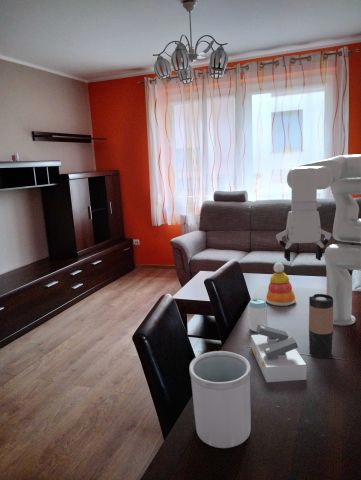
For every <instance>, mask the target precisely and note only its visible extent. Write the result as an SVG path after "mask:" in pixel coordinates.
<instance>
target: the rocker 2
mask: <svg viewBox="0 0 361 480" xmlns="http://www.w3.org/2000/svg"><path fill="white" fill-rule="evenodd" d="M298 348H299V346H298V344H297V341H296V340H295V338H294V337H293V336H292V337H288V339H286V340H283V341H281V342H278V343H276V344H273V345H271V346H268V347H265V348H263V350H264V353H265V355H266V357H267V359H270V358H273V357H276V356H278V355H281V354H283V353H286V352H288V351H291V350H294V349H296V350H297V349H298Z"/></svg>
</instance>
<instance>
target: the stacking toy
mask: <svg viewBox="0 0 361 480" xmlns="http://www.w3.org/2000/svg"><path fill="white" fill-rule="evenodd" d="M273 271H274V272H273V273H272V275H271V276H270V278H269V279H270V280H269V281H270V282H269V284H268V287H267V288H268V289H267V290H268V291H267V292H266V296H265V297H264V300H265V302H267V303H268V304H270V305H274V306H281V307H282V306H283V307H284V306H285V307H286V306H290V305H293V304H295V303H296V301H297V297H296V295H295V292H294V291H293V286H292V284H291V282H290V278H289V276H288V275H287V274H286V273H285V272H284V271H285V266H284V264H283V263H282V262H280V261H277V262H275V264H274V265H273Z"/></svg>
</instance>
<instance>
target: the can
mask: <svg viewBox="0 0 361 480" xmlns="http://www.w3.org/2000/svg"><path fill="white" fill-rule="evenodd" d="M248 317H249V318H248V319H249V323H248V324H249V325H248V326H249V327H248V328H249V330H251V331H252V332H253V333H254V332H255V333H258V332H257V327H258V325H262V326H266V327H268V304H267V303H266V300H265V299H263V298H252V299H250V302H249V304H248Z"/></svg>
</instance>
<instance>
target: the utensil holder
mask: <svg viewBox="0 0 361 480" xmlns="http://www.w3.org/2000/svg"><path fill="white" fill-rule="evenodd" d="M251 369H252V368H251V364H250V362H249V360H248V359H247V358H246V357H244V356H243V355H240V354H239V353H235V352H232V351H224V350H218V351H217V350H214V351H208V352H205V353H202V354H200V355H198V356H196V357H194V358H193V359H192V360H191V362H190V364H189V376H190V381H191V390H192V392H191V393H192V399H193V401H192V402H193V403H192V404H193V413H194V422H195V430H196V434H197V436H198V437H199V439H200V440H201V441H202V442H203V443H205V444H207V445H209V446H210V447H214V448H218V449H219V448H220V449H229V448H233V447H237V446H239V445H241V444H243V443H244V442H245V441H246V440H247V439H248V438H249V437H250V434H251V431H252V430H251V427H252V426H251V425H252V424H251V423H252V421H251V418H252V417H251V416H252V414H251V413H252V412H251V410H252V409H251V408H252V407H251V380H250V376H251V372H252V371H251Z"/></svg>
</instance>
